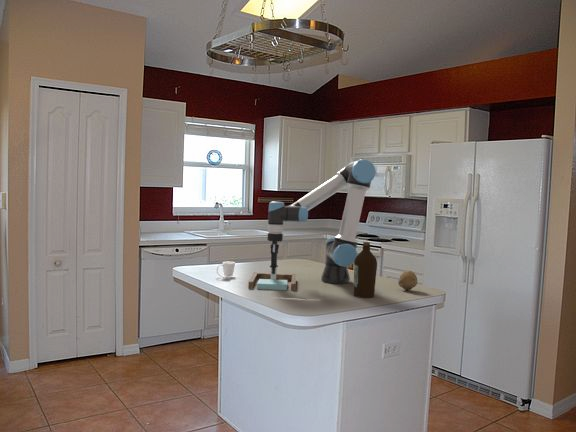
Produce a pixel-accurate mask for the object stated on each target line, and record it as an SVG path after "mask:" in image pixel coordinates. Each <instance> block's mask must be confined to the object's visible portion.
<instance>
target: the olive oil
mask: <svg viewBox="0 0 576 432" xmlns="http://www.w3.org/2000/svg"><path fill="white" fill-rule="evenodd" d="M362 243H363V244H362V250H361V251H360V252H359V253H357V256H356V258H355V261H354V263H353V296H354V297H358V298H363V299H364V298H365V299H369V298H370V299H372V298H374V297H375V291H376V290H375V289H376V280H377V279H376V278H377V271H378V270H377V269H378V260H377V258H376V256H375V255H374V254H373V253H372V252H371V242H370V241H363V242H362Z"/></svg>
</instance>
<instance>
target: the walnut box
mask: <svg viewBox="0 0 576 432" xmlns="http://www.w3.org/2000/svg"><path fill="white" fill-rule="evenodd" d="M259 279H271V272H270V273H269V272H253V274H252V275H251V276H250V279H249V280H248V287H247V289H250V290H251V289H252V290H258V289H257V283H258V280H259ZM276 280H288V283H287V290H286V291H294V292H295V291H296V283H297V274H293V273H276ZM271 290H273V289H270V291H271Z"/></svg>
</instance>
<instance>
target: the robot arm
mask: <svg viewBox="0 0 576 432" xmlns="http://www.w3.org/2000/svg"><path fill="white" fill-rule="evenodd" d="M376 171H377V170H376V167H375V165H374V164H373V163H372V162H371V161H370V160H368V159H363V158H360V159H356V160H353V161H351V162H349V163H348V164H346V165H345V166H344V167H343V168H341V169H340V170H339V171H337V173H336V175H334V176H333V177H332V178H330V179H328V180H327V181H325V182H324V183H322V184H320V185H319V186H318V187H316V188H314V189H313V190H312V191H310V192H308V193H307V194H305V195H304V196H303V197H301V198H299V199H298V200H297V201H295V202H294V203H292V204H289V205H285V202H282V201H270V202H269V204H268V214H267V226H266V228H267V232H268V233H267V241H268V242H272V243H271V244H270V256H271V257H270V265H269V268H270V273H271V279H273V280H276V274H277V269H278V267H279V266H278V253H279V247H280V244H278V242H282V241H283V239H284V237H283V236H284V234H283V233H284V222H294V223H295V222H297V223H306V222H307V221H308V218H309V211H310V210H311V209H313V208H315V207H317V206H318V205H319V204H321V203H323V202H324V201H325V200H327V199H329V198H330V197H331V196H333V195H335V194H336V193H338V192H339V191H341V190H342V189H344V188H348V191H347V195H346V200H345V205H344V210H343V212H342V217H341V218H342V219H341V222H340V227H339V231H338V234H337V235H336V236H334V237H328V238H326V242H325V265H324V268H323V272H322V274H321V278H320V279H321V281H322V282H324V283H328V284H329V283H330V284H338V285H339V284H348V283H350V282H351V277H350V272H349V269H348V267H350V266H351V265H354V261H355V258H356V256H357V255H358V252H357V247H358V240H357V238H356V237H357V232H358V228H359V223H360V219H361V215H362V210H363V205H364V200H365V197H366V192H367V191H368V190H369V189H370V188H371V183H372V181H373V180H375V179H374V178H375V176H376Z"/></svg>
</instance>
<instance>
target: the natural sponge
mask: <svg viewBox="0 0 576 432" xmlns="http://www.w3.org/2000/svg"><path fill="white" fill-rule="evenodd" d="M397 282H398V286H399V287H400V288H402V289H403V290H404V291H411V290H412V289H413V288H415V287H417V285H418V282H419V281H418V277H417V275H416V274H415V272H413V271H412V270H405V271H403V272H402V273H401V275H400V277H399V279H398V281H397Z"/></svg>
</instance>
